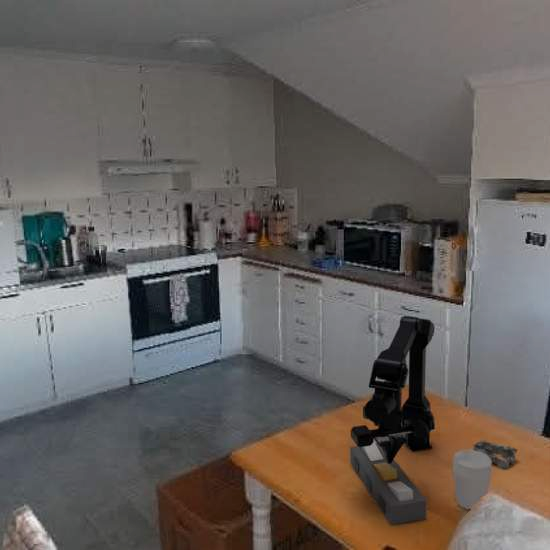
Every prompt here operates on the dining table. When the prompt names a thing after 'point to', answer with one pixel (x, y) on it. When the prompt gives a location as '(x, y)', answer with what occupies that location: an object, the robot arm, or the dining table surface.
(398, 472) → the rocker switch panel
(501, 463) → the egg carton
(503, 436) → the dining table surface
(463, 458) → the cup
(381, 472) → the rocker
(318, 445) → the dining table surface
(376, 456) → the rocker
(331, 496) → the dining table surface
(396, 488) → the rocker
